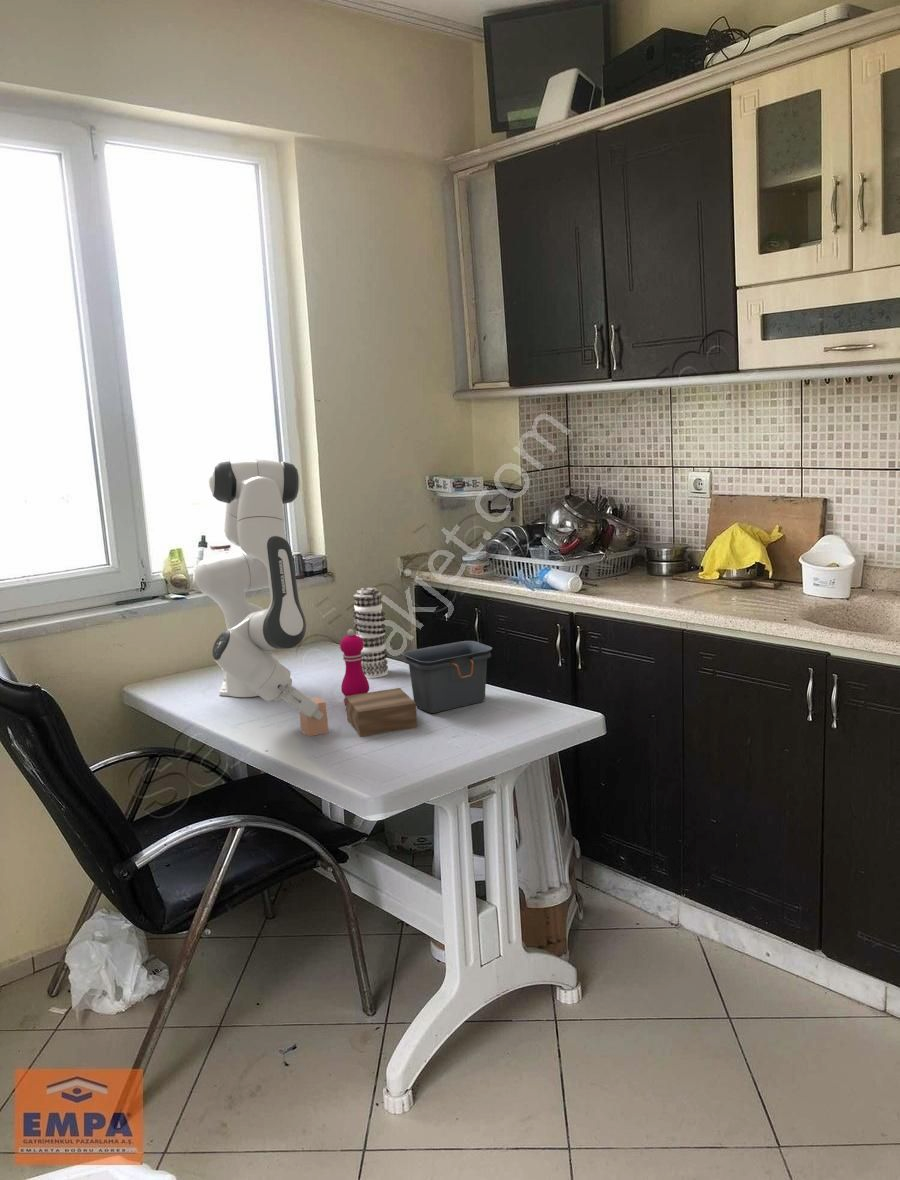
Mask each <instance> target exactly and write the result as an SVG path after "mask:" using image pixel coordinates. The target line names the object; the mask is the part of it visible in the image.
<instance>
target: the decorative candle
mask: <svg viewBox="0 0 900 1180" xmlns="http://www.w3.org/2000/svg"><path fill="white" fill-rule="evenodd" d="M353 597H354V606H353V607H354V608H352V617H353V618H354V620H353V624H354V628H353V630H356V631H355V632H354V635H357V636H359V637H360V638H361V639H362V640H363V644H364V647H363V649H362V651H361V653H362V657H363V658H362V659H361V666H362V670H363V672H364V675H365V676H366V678H367V679H377V678H382V677H385V676H387V675H388V674H389V666H388V660H387V658H388V655H387V654H386V653H387V651H388V650H387V649H386V643H385V636H384V635H386V629H385V627H386V624H384V623H383V622H384V621H386V618H385V614H386V613H385V612H384V611H382V610H383V603H382V592H381V591H379V589H378V588H376V587H374V586H373V587H372V586H371V587H369V586H368V587H362V588H359V589H357V590H356V592H355V593H354V594H353Z"/></svg>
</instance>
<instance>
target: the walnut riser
mask: <svg viewBox="0 0 900 1180" xmlns="http://www.w3.org/2000/svg"><path fill="white" fill-rule="evenodd" d="M344 698H345V701H346V706H345V709H346V721H348V723H349V725H350V726H352V729H354V731H355V732H356V734H358V736H359V738H360V737H362V738H363V737H366V736H373V735H379V734H384V733H391V732H398V731H403V730H409V729H413V728H418V717H417V716H418V714H417V707H416V703H415V702H414V699H412V698H411V697H410V696H409V695H408V694H407V693H406V692H405V691H404V690H403V689H402V688H401V687H396V688H389V689H383V690H377V691H371V692H370V691H368V693H363V694H356V695H350V696H345V695H344Z"/></svg>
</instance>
